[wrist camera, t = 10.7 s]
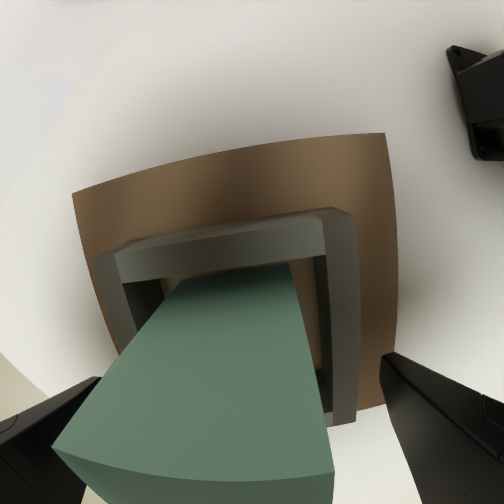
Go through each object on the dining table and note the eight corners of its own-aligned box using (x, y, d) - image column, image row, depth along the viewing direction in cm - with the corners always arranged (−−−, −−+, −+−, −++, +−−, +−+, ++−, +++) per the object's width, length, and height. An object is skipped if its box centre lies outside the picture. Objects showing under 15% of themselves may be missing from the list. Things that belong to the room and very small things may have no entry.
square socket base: (376, 136, 11) (420, 119, 7) (381, 392, 14) (402, 439, 10) (83, 192, 12) (28, 199, 8) (157, 414, 15) (138, 458, 11)
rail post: (288, 262, 11) (334, 471, 2) (301, 355, 12) (327, 543, 3) (181, 279, 12) (51, 446, 3) (207, 366, 13) (153, 537, 4)
